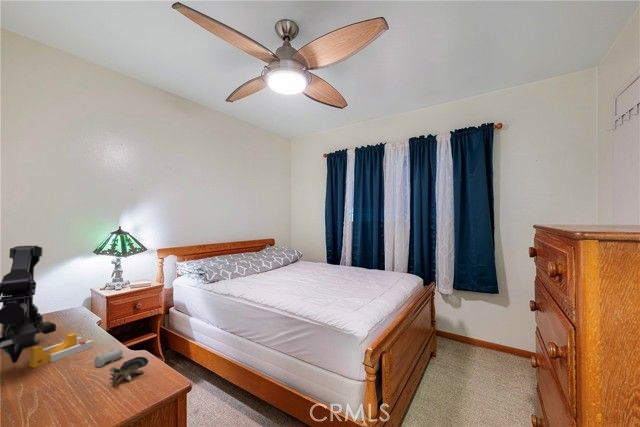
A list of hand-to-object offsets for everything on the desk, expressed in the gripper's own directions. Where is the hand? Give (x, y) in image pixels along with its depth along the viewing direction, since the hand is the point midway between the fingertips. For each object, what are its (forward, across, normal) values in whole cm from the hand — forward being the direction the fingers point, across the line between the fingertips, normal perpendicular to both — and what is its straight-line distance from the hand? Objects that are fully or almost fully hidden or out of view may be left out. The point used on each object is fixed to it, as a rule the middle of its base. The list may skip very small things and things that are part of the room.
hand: (14, 362), depth 86 cm
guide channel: (+3, +14, 0) cm, 14 cm away
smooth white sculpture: (+3, +16, -22) cm, 27 cm away
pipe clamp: (+3, +9, -1) cm, 10 cm away
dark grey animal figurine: (+3, +12, -40) cm, 42 cm away
